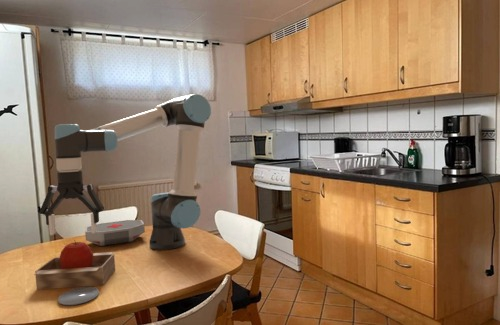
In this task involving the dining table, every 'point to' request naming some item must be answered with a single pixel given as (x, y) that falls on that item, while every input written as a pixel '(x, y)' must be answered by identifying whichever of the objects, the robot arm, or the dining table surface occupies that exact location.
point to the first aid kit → (115, 232)
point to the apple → (76, 256)
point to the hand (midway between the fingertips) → (73, 233)
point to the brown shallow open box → (75, 273)
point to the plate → (78, 295)
